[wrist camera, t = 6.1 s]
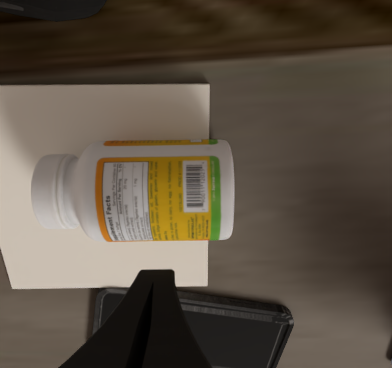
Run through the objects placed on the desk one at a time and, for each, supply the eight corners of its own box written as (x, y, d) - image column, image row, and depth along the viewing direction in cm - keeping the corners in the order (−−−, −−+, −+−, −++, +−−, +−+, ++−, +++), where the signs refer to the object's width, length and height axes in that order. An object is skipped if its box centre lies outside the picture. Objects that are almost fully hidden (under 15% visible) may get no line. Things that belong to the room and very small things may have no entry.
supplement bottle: (223, 189, 21) (74, 191, 21) (228, 118, 18) (48, 121, 17) (230, 260, 17) (49, 263, 17) (239, 189, 14) (7, 192, 14)
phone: (269, 383, 27) (89, 362, 26) (266, 371, 28) (93, 350, 27) (298, 313, 24) (96, 285, 23) (294, 303, 25) (100, 275, 24)
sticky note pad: (209, 83, 18) (209, 84, 18) (206, 281, 24) (207, 286, 23) (-41, 85, 18) (-47, 86, 18) (15, 284, 24) (12, 288, 23)
